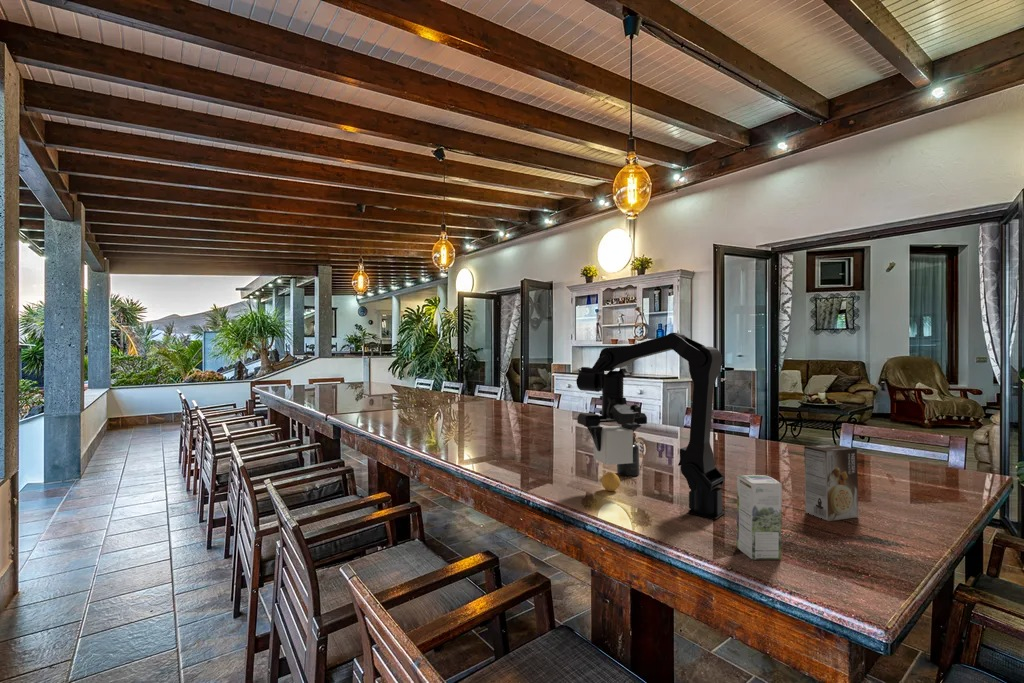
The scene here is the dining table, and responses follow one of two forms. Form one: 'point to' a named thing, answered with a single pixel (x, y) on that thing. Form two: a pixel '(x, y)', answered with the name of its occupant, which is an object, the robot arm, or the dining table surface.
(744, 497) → the syrup box
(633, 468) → the supplement bottle
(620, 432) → the gray cube
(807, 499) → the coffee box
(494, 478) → the dining table surface
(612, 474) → the ball
